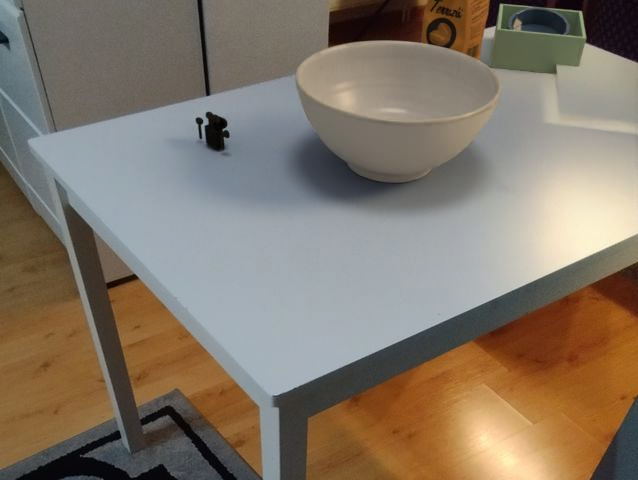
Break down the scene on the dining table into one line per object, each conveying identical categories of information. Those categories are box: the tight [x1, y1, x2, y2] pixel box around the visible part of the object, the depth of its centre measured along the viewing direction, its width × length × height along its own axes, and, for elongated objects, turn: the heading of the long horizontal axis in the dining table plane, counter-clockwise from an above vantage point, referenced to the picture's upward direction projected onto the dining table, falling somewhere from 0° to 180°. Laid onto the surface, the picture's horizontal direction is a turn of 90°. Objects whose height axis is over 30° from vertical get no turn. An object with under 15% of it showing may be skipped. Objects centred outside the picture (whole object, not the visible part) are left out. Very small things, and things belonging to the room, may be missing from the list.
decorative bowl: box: [294, 40, 503, 184], centre depth 93 cm, size 27×27×12 cm
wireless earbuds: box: [195, 111, 231, 151], centre depth 97 cm, size 7×2×5 cm, turn 48°
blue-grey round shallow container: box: [507, 6, 570, 35], centre depth 127 cm, size 11×11×4 cm
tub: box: [489, 3, 587, 75], centre depth 126 cm, size 15×15×6 cm
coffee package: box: [420, 0, 491, 61], centre depth 114 cm, size 10×12×22 cm
